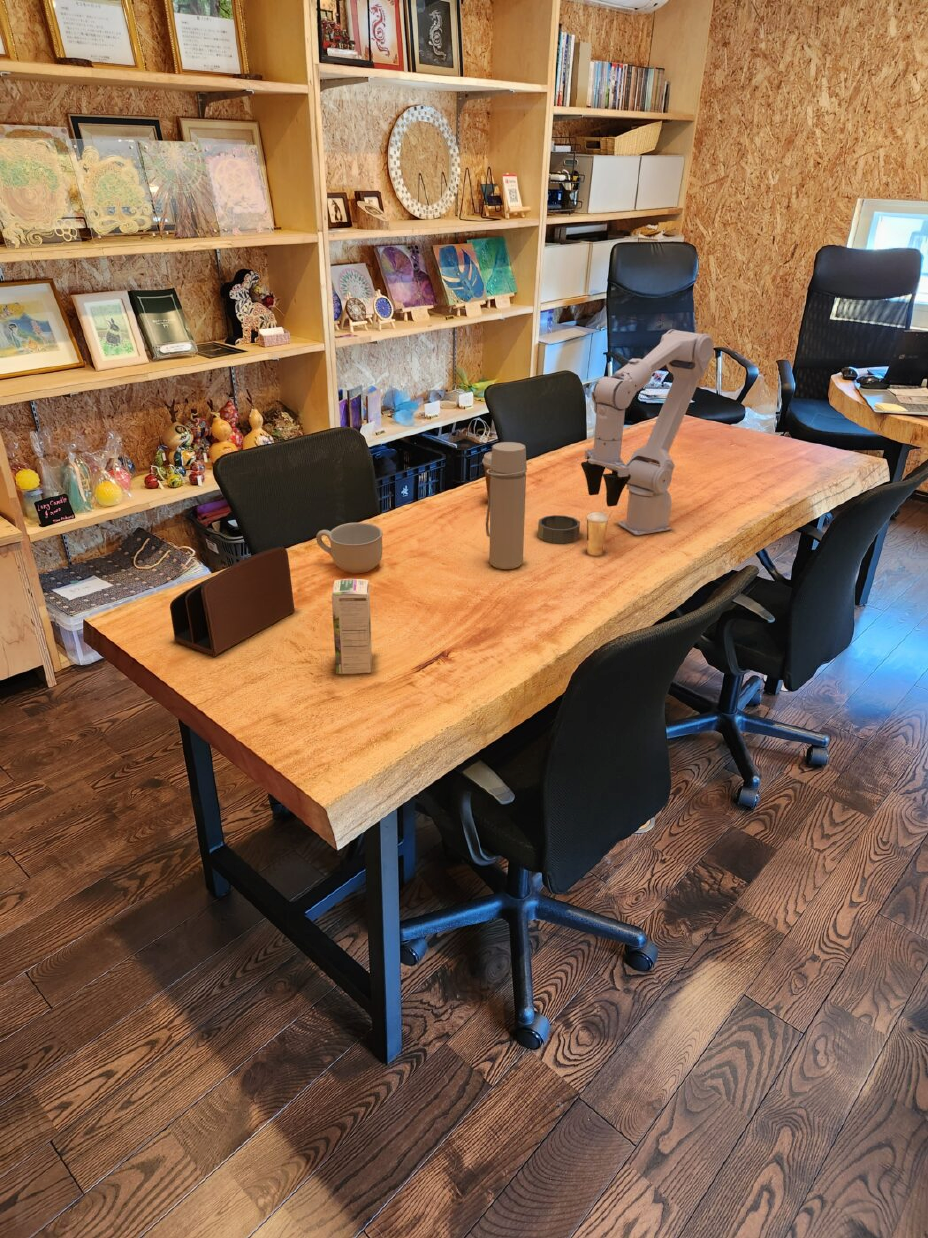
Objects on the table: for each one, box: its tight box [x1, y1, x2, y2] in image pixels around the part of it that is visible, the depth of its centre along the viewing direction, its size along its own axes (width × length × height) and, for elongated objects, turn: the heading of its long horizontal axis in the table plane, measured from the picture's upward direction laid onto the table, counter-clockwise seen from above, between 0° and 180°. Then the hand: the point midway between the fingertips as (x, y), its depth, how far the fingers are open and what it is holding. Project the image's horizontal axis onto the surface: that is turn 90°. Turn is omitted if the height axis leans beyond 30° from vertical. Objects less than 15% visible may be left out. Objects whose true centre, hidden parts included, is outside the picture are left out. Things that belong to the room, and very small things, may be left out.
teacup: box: [315, 521, 383, 575], centre depth 170 cm, size 14×11×8 cm
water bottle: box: [485, 441, 528, 570], centre depth 167 cm, size 9×8×25 cm
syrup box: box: [331, 578, 373, 675], centre depth 133 cm, size 6×6×14 cm
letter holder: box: [169, 546, 296, 657], centre depth 145 cm, size 10×20×14 cm, turn 148°
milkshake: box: [586, 510, 614, 557], centre depth 175 cm, size 4×5×10 cm
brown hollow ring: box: [537, 514, 581, 545], centre depth 186 cm, size 9×9×3 cm
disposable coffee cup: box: [482, 451, 492, 499], centre depth 203 cm, size 10×10×12 cm
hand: (602, 499), depth 177 cm, fingers open, 7 cm apart
